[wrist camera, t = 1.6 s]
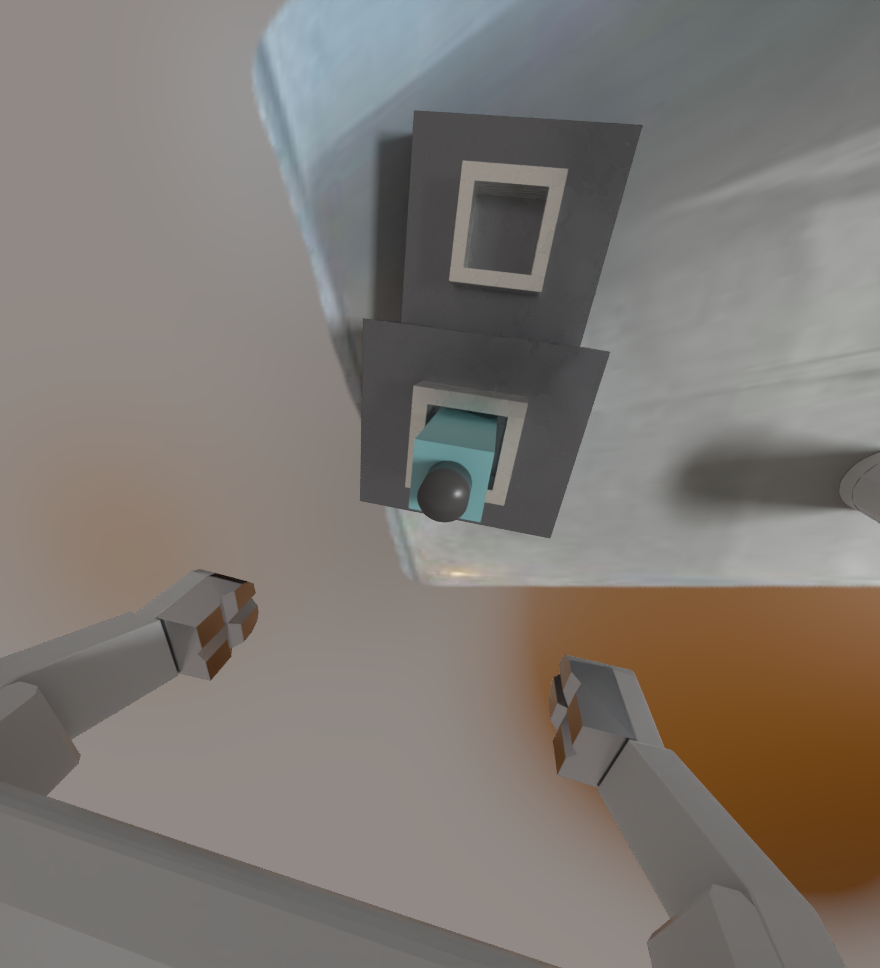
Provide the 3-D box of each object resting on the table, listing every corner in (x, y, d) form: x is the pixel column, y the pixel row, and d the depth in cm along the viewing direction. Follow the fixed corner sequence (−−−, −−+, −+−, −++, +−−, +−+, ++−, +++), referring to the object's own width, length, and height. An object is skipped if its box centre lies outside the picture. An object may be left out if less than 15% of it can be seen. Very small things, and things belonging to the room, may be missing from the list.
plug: (441, 406, 24) (403, 451, 15) (497, 415, 23) (493, 467, 14) (434, 468, 26) (396, 540, 17) (485, 477, 25) (475, 556, 16)
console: (423, 132, 27) (346, -57, 14) (627, 147, 25) (761, -53, 12) (399, 454, 39) (347, 515, 26) (536, 479, 37) (554, 557, 24)
